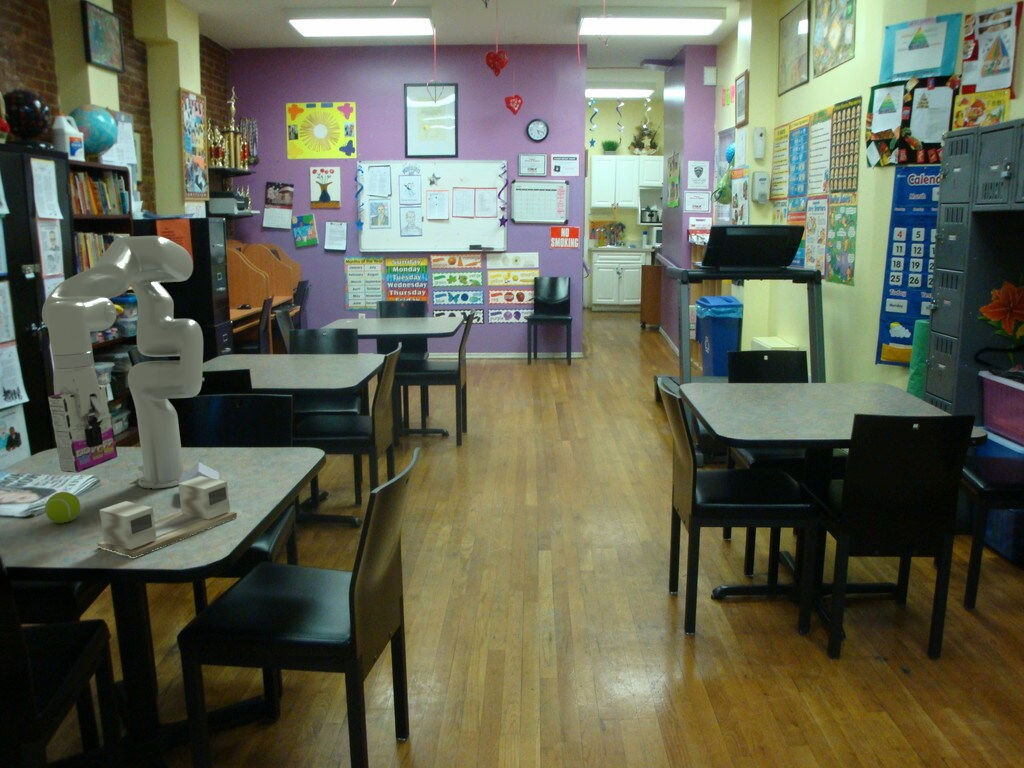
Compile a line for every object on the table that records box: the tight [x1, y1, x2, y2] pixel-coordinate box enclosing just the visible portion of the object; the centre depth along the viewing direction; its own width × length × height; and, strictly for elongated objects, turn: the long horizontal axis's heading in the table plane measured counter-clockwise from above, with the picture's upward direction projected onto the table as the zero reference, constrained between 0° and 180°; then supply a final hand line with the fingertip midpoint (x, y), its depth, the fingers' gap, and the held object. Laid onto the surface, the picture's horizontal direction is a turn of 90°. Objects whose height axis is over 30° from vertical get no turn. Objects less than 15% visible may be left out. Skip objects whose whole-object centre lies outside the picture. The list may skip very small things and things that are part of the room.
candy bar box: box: [47, 384, 119, 474], centre depth 178 cm, size 11×5×16 cm, turn 160°
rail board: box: [97, 476, 238, 557], centre depth 181 cm, size 12×26×8 cm, turn 148°
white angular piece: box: [181, 462, 220, 482], centre depth 206 cm, size 9×7×13 cm
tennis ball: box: [44, 491, 81, 524], centre depth 190 cm, size 7×7×7 cm
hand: (86, 443), depth 179 cm, fingers closed on candy bar box, 5 cm apart
